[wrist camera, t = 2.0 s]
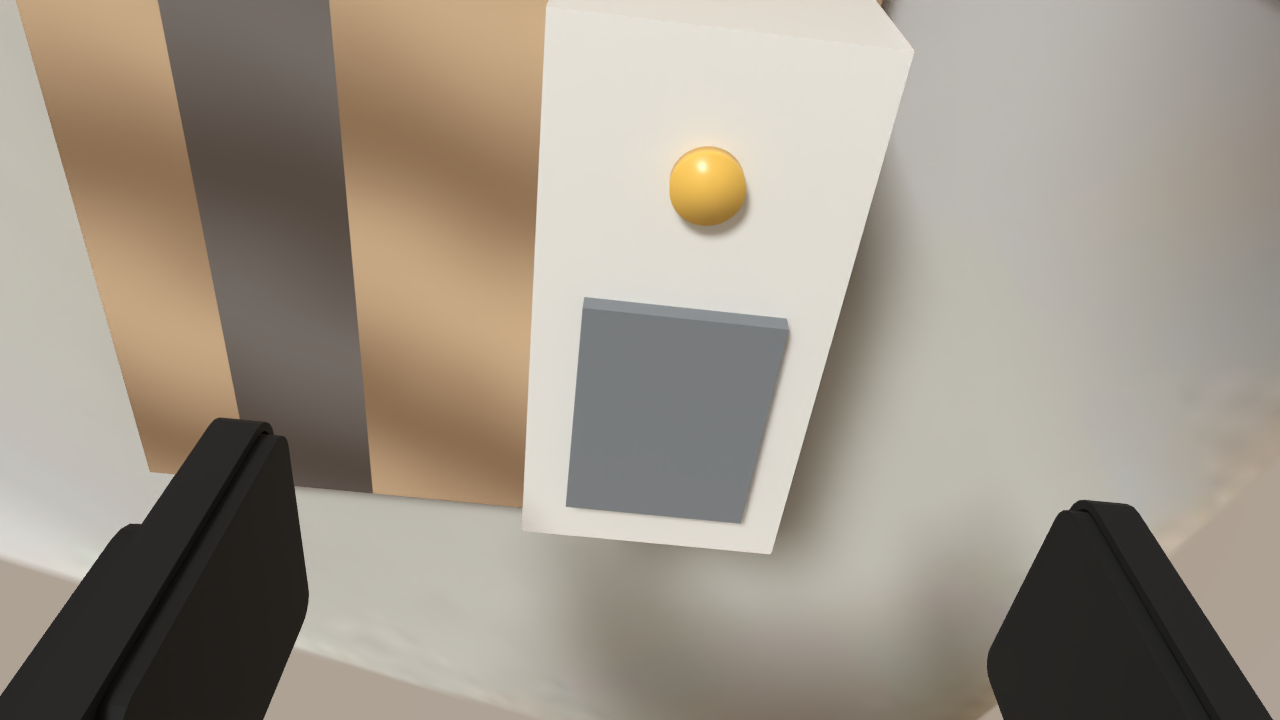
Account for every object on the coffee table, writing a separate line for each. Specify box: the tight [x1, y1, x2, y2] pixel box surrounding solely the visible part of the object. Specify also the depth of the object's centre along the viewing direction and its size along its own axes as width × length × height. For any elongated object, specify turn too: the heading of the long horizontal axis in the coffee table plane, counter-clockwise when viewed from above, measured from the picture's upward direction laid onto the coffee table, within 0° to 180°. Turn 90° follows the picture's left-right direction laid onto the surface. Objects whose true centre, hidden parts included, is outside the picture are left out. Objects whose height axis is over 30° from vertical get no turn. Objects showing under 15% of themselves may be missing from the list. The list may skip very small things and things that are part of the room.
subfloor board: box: [16, 0, 882, 507], centre depth 18 cm, size 18×15×1 cm
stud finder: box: [522, 0, 914, 554], centre depth 15 cm, size 9×4×5 cm, turn 174°
